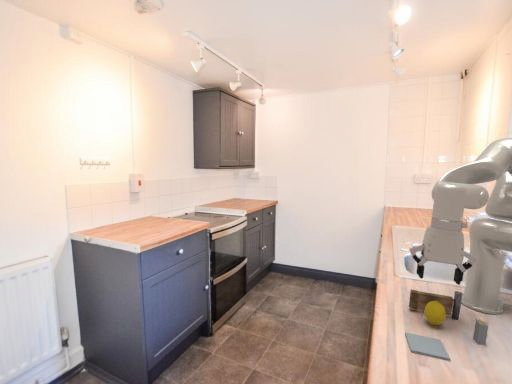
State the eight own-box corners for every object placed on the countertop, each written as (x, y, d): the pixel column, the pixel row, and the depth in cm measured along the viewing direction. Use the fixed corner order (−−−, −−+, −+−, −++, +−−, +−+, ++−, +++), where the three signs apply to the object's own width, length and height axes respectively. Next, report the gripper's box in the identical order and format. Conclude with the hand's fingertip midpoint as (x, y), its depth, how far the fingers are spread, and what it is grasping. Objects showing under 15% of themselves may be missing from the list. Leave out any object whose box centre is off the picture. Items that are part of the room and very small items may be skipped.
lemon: (424, 317, 89) (427, 294, 88) (444, 324, 85) (448, 300, 84) (421, 325, 85) (424, 301, 84) (443, 333, 81) (446, 308, 80)
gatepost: (457, 317, 90) (461, 291, 89) (459, 320, 88) (463, 294, 87) (450, 316, 90) (453, 290, 89) (452, 319, 89) (456, 293, 87)
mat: (440, 341, 77) (440, 339, 77) (450, 360, 70) (450, 358, 70) (404, 334, 80) (405, 332, 80) (410, 351, 73) (411, 349, 72)
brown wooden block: (449, 313, 90) (451, 296, 90) (451, 316, 89) (453, 299, 88) (408, 305, 94) (410, 289, 93) (410, 308, 92) (412, 292, 92)
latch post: (481, 340, 78) (484, 318, 78) (485, 345, 76) (488, 323, 75) (473, 338, 79) (476, 316, 78) (476, 343, 77) (480, 321, 76)
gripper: (474, 226, 82) (466, 280, 84) (410, 219, 87) (404, 270, 89) (486, 231, 75) (477, 290, 77) (416, 223, 80) (409, 279, 82)
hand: (438, 279), depth 83 cm, fingers open, 9 cm apart
